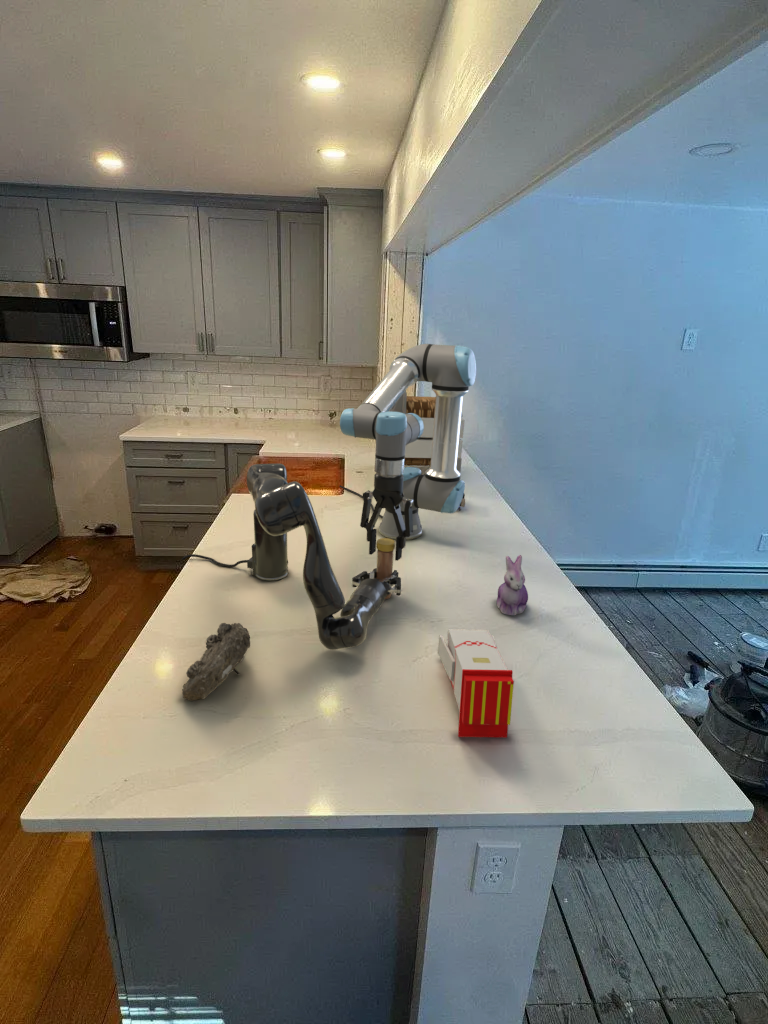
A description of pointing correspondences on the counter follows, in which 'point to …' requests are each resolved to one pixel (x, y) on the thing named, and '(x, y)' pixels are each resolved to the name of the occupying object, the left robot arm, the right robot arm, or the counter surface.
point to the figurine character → (462, 502)
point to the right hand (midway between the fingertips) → (385, 555)
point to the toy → (478, 682)
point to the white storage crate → (422, 447)
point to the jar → (384, 565)
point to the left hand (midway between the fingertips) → (387, 571)
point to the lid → (385, 544)
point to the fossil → (217, 660)
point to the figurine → (512, 589)
